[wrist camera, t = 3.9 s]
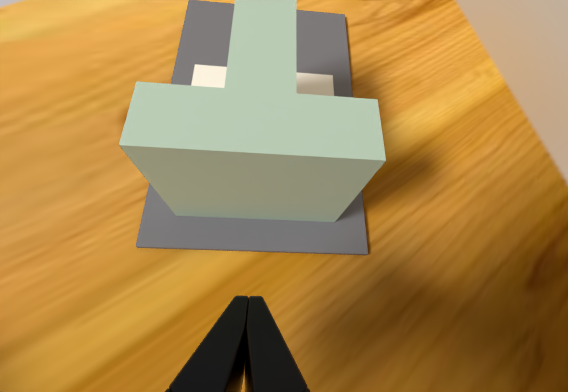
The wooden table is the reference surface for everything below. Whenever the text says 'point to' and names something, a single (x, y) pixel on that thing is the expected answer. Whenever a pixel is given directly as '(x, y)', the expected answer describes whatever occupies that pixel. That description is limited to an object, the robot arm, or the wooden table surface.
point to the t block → (254, 133)
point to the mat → (310, 80)
